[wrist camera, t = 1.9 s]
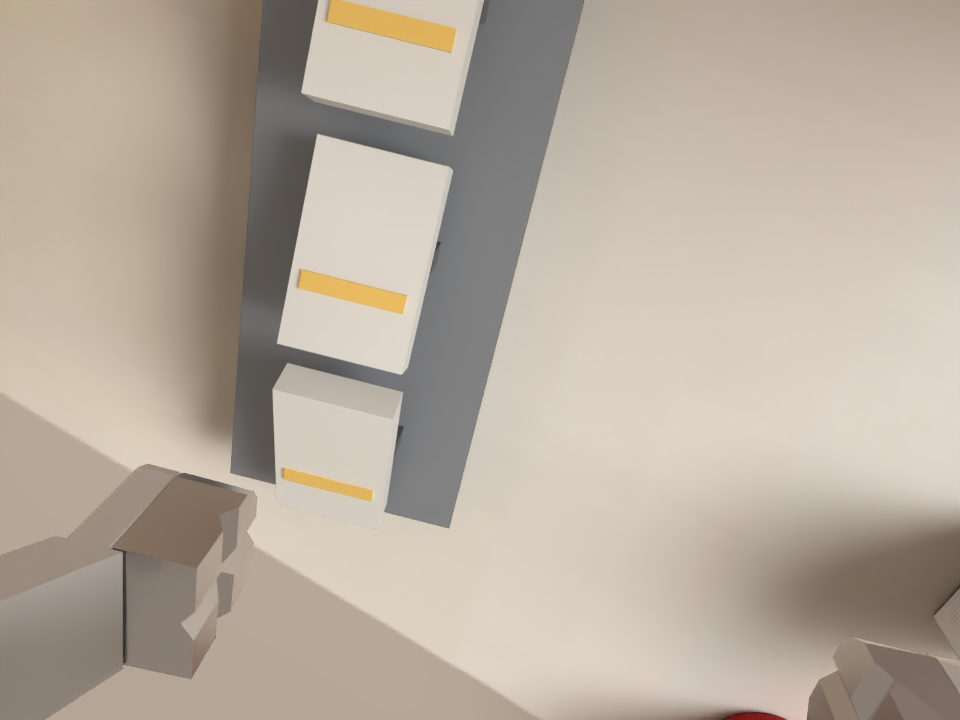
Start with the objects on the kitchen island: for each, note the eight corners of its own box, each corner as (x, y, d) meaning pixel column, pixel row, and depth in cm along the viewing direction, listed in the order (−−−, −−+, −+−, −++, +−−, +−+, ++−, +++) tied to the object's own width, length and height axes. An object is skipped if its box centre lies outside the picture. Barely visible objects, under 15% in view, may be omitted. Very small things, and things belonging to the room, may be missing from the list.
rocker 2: (328, 139, 31) (316, 133, 29) (453, 170, 31) (448, 166, 29) (290, 337, 32) (275, 344, 30) (408, 367, 32) (401, 375, 30)
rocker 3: (287, 362, 33) (271, 391, 32) (403, 392, 33) (392, 422, 32) (289, 478, 39) (275, 506, 38) (386, 502, 39) (377, 532, 38)
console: (307, -186, 30) (254, -226, 25) (611, -111, 30) (619, -137, 25) (254, 435, 44) (213, 488, 39) (459, 486, 44) (444, 547, 39)
